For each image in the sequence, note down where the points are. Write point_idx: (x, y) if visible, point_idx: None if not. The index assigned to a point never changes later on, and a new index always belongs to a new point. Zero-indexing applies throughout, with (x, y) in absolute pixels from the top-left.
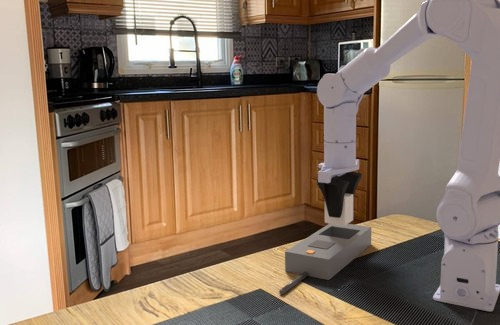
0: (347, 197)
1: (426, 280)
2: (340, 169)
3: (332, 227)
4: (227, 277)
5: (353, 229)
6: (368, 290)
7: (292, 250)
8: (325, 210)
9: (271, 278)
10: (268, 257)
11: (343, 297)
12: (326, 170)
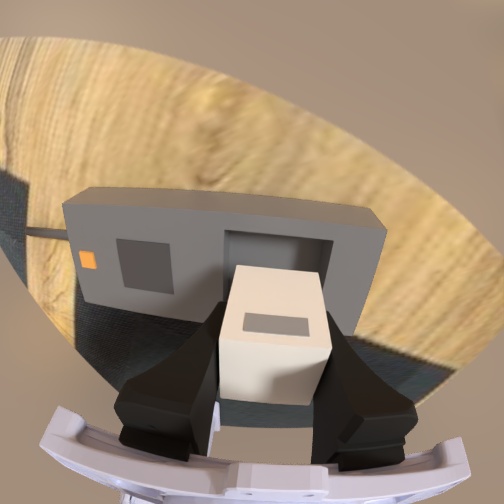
0: (246, 400)
1: None
2: (145, 500)
3: (332, 242)
4: (31, 104)
5: None
6: (119, 330)
7: (75, 216)
8: (229, 297)
9: (59, 177)
10: (146, 97)
11: (80, 305)
12: (81, 471)
